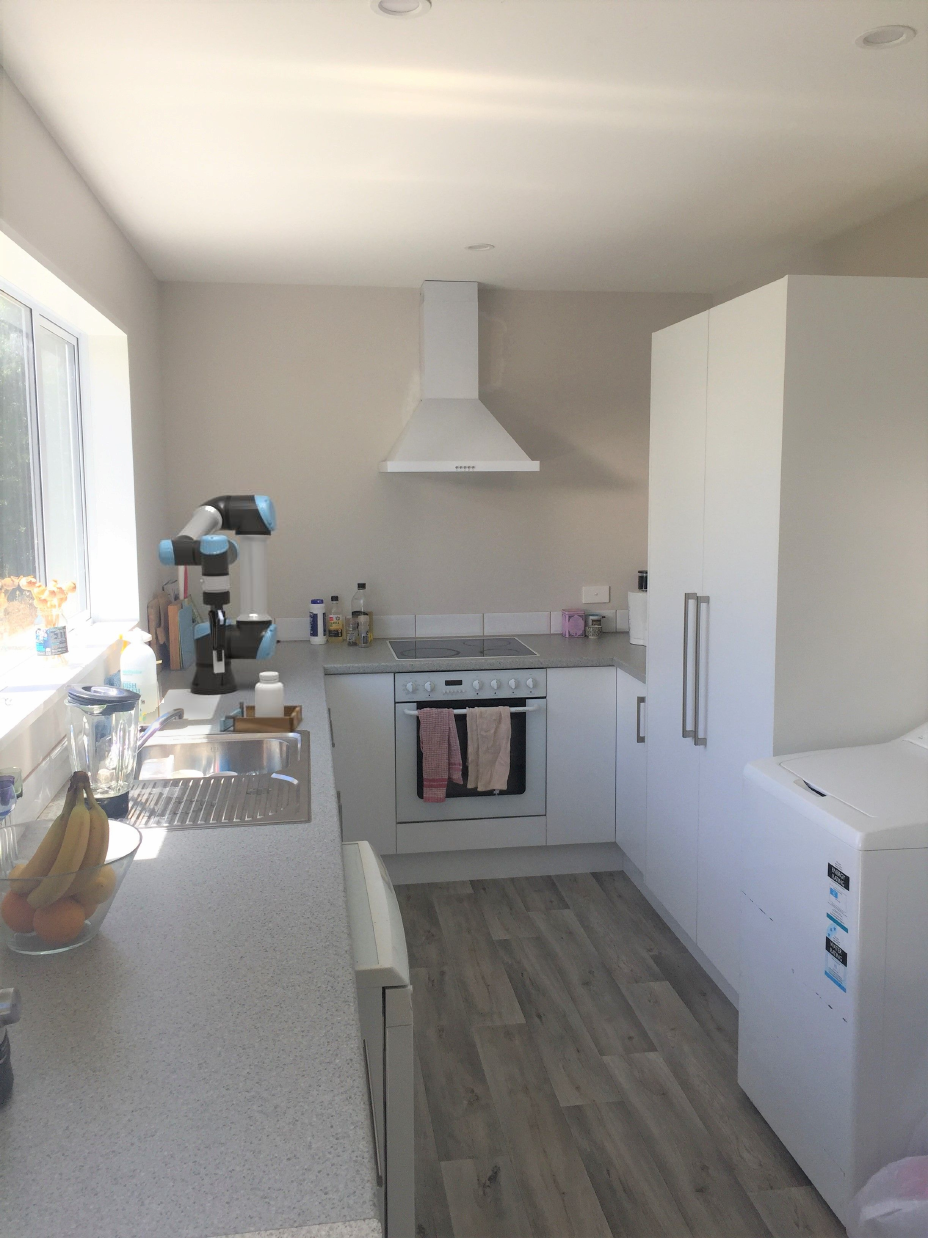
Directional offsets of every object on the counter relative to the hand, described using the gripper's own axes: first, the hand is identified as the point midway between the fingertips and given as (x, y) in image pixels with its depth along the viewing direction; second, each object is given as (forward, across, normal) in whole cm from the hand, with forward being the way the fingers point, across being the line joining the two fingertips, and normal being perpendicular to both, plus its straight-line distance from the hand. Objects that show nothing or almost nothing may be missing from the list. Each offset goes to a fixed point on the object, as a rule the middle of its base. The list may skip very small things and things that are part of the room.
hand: (219, 672), depth 273 cm
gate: (+14, +8, +1) cm, 16 cm away
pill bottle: (+14, +12, +11) cm, 22 cm away
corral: (+14, +12, +10) cm, 21 cm away
